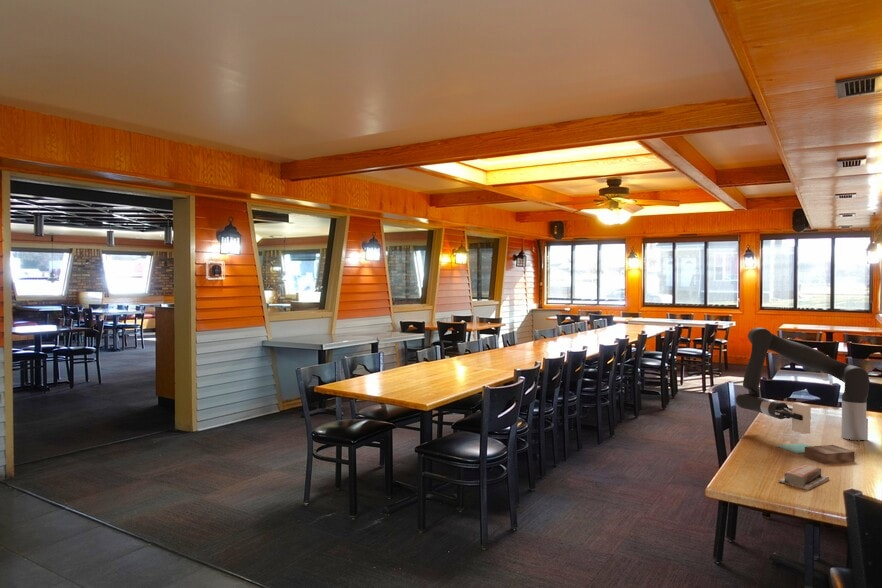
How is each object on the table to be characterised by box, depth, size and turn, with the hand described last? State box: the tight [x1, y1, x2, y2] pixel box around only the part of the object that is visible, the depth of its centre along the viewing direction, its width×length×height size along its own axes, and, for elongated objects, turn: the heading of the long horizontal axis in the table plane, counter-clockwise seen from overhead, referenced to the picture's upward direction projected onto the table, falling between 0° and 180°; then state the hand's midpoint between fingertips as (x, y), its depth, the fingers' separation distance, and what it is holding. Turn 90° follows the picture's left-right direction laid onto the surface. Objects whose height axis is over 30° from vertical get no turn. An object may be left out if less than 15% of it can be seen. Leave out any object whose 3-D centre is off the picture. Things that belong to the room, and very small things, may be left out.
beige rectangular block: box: [791, 401, 812, 435], centre depth 247 cm, size 4×6×12 cm, turn 13°
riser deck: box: [804, 444, 856, 465], centre depth 234 cm, size 14×10×4 cm
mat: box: [776, 442, 811, 455], centre depth 247 cm, size 14×11×1 cm
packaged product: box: [777, 464, 830, 491], centre depth 208 cm, size 18×5×10 cm
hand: (806, 417), depth 244 cm, fingers closed on beige rectangular block, 3 cm apart
